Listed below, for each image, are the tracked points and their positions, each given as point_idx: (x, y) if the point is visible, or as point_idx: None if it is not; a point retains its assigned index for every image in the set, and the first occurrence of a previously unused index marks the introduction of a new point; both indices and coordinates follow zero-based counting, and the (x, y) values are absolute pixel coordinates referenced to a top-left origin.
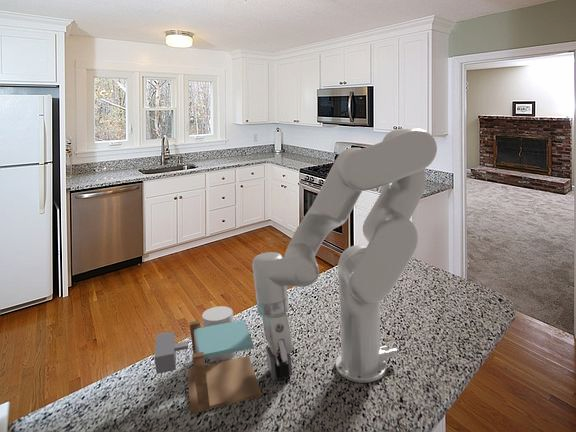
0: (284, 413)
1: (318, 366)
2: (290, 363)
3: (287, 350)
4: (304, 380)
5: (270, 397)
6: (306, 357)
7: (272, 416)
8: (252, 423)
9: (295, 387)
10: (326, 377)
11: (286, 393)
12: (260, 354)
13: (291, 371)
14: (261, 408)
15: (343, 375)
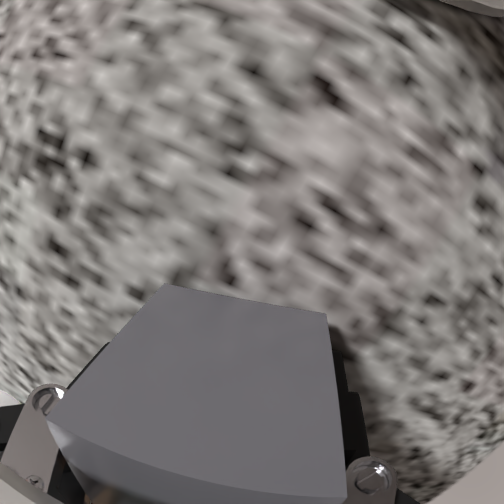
0: (491, 416)
1: (304, 53)
2: (332, 391)
3: (248, 495)
4: (403, 243)
5: (387, 446)
6: (145, 90)
7: (466, 450)
8: (435, 490)
9: (420, 328)
10: (449, 85)
11: (422, 386)
12: (36, 345)
13: (326, 335)
14: (409, 473)
15: (496, 12)
